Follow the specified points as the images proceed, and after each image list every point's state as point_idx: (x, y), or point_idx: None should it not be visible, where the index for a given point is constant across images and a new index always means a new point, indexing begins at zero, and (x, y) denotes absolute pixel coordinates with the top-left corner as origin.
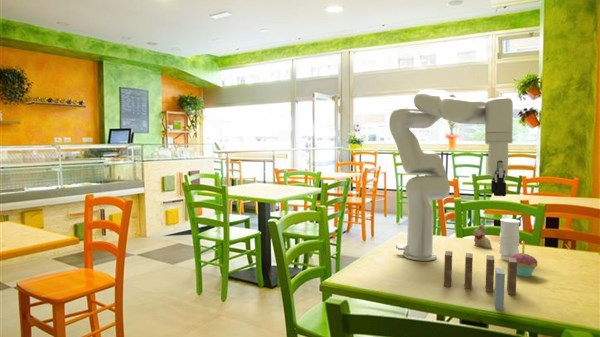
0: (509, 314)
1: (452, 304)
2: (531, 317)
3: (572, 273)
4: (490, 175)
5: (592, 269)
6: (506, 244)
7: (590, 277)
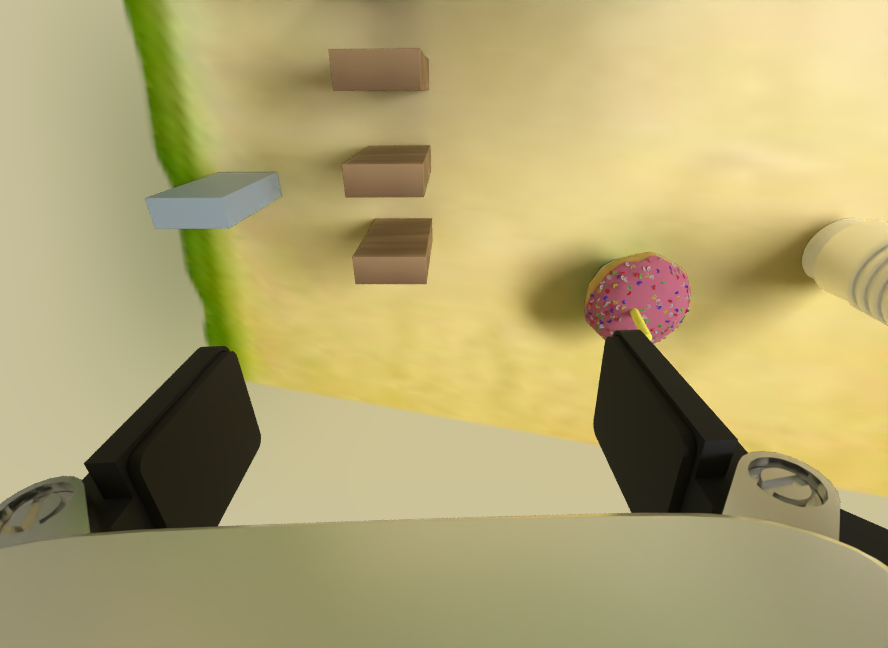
0: None
1: (164, 16)
2: (220, 265)
3: None
4: (46, 538)
5: None
6: (868, 262)
7: None
